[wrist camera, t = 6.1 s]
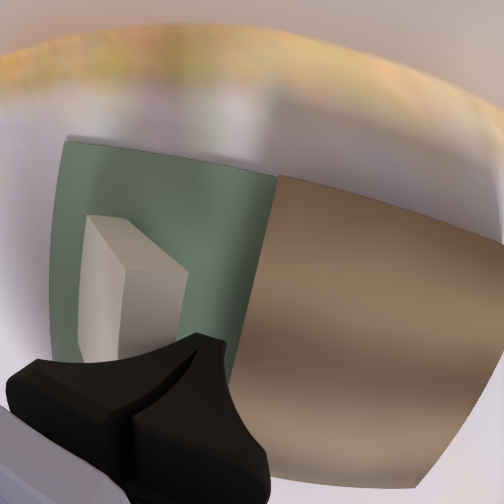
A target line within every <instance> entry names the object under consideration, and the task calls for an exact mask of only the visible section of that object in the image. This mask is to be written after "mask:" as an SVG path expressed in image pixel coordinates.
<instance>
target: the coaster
mask: <svg viewBox="0 0 504 504" xmlns="http://www.w3.org/2000/svg"><path fill="white" fill-rule="evenodd" d="M188 273H189V272H188V271H187V270H186V269H185V268H184V267H182V266H181V265H180V264H179V263H177V262H176V261H175V260H174V259H173V258H171V257H170V256H169V255H168V254H167V253H165V252H164V251H163V250H162V249H161V248H159V247H158V246H157V245H156V244H155V243H154V242H152V241H151V240H150V239H149V238H148V237H147V236H145V235H144V234H143V233H142V232H141V231H140V230H138V229H137V228H136V227H135V226H134V225H133V224H131V223H130V222H129V221H128V220H127V219H126V218H117V217H108V216H98V215H88V214H87V219H86V226H85V233H84V242H83V251H82V261H81V272H80V286H79V305H78V345H79V348H80V351H81V354H82V357H83V360H84V363H95V362H105V361H114V360H121V359H126V358H130V357H135V356H139V355H142V354H145V353H148V352H151V351H154V350H157V349H159V348H162V347H165V346H167V345H169V344H172V343H174V342H176V336H177V330H178V325H179V319H180V314H181V309H182V303H183V298H184V293H185V288H186V283H187V278H188Z"/></svg>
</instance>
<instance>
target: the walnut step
mask: <svg viewBox="0 0 504 504" xmlns="http://www.w3.org/2000/svg"><path fill="white" fill-rule="evenodd" d="M503 351H504V245H503V244H500V243H498V242H495V241H493V240H490V239H488V238H485V237H483V236H480V235H478V234H475V233H472V232H470V231H467V230H464V229H462V228H459V227H456V226H453V225H451V224H448V223H445V222H442V221H439V220H436V219H433V218H430V217H428V216H425V215H422V214H419V213H416V212H412V211H409V210H406V209H403V208H400V207H397V206H394V205H390V204H387V203H384V202H381V201H377V200H374V199H371V198H367V197H364V196H360V195H357V194H353V193H350V192H346V191H343V190H339V189H335V188H332V187H328V186H324V185H320V184H316V183H312V182H308V181H305V180H300V179H296V178H292V177H288V176H284V175H280V174H279V178H278V182H277V186H276V191H275V195H274V199H273V203H272V208H271V212H270V216H269V220H268V225H267V229H266V233H265V237H264V241H263V246H262V250H261V254H260V258H259V262H258V267H257V271H256V275H255V279H254V283H253V287H252V292H251V296H250V300H249V304H248V308H247V312H246V316H245V320H244V324H243V329H242V333H241V337H240V341H239V345H238V349H237V353H236V357H235V361H234V365H233V369H232V373H231V377H230V381H229V385H228V388H229V391H230V394H231V397H232V400H233V403H234V405H235V407H236V410H237V412H238V413H239V415H240V417H241V419H242V421H243V423H244V424H245V426H246V428H247V429H248V430H249V432H250V433H251V435H252V436H253V437H254V438H255V440H256V441H257V442H258V443H259V444H260V445H261V446H262V447H263V449H264V450H265V451H266V454H267V459H268V464H269V470H270V477H276V478H281V479H287V480H293V481H299V482H306V483H314V484H322V485H331V486H342V487H356V488H381V489H404V488H415V487H416V486H417V485H418V484H419V483H420V481H421V480H422V479H423V478H424V477H425V475H426V474H427V473H428V472H429V471H430V469H431V468H432V467H433V466H434V464H435V463H436V462H437V460H438V459H439V458H440V456H441V455H442V454H443V452H444V451H445V450H446V448H447V447H448V446H449V444H450V443H451V441H452V440H453V439H454V437H455V436H456V434H457V433H458V431H459V430H460V428H461V427H462V425H463V424H464V422H465V421H466V419H467V417H468V416H469V414H470V413H471V411H472V409H473V408H474V406H475V404H476V403H477V401H478V399H479V397H480V396H481V394H482V392H483V390H484V389H485V387H486V385H487V383H488V381H489V379H490V377H491V376H492V374H493V372H494V370H495V368H496V366H497V364H498V362H499V360H500V357H501V355H502V353H503Z"/></svg>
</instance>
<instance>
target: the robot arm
mask: <svg viewBox="0 0 504 504" xmlns="http://www.w3.org/2000/svg"><path fill="white" fill-rule="evenodd" d="M226 348H227V343H226V341H224V340H221V339H217V338H214V337H211V336H207V335H204V334H201V333H197V332H195V333H193V334H191V335H189V336H187V337H185V338H183V339H181V340H178V341H176V342H174V343H172V344H169V345H167V346H165V347H162V348H159V349H157V350H154V351H151V352H148V353H145V354H142V355H139V356H135V357H130V358H126V359H121V360H114V361H105V362H95V363H69V362H58V361H49V360H42V359H36V360H34V361H33V362H32V363H30V364H29V365H27V366H26V367H24V368H23V369H21V370H20V371H18V372H17V373H15V374H14V375H13V376H11V377H10V378H9V379H8V381H7V382H6V397H7V402H8V405H9V409H10V412H9V411H8V410H7V409H6V408H4V407H3V406H1V405H0V504H267V502H268V500H269V497H270V493H271V478H270V470H269V464H268V459H267V454H266V451H265V450H264V449H263V447H262V446H261V445H260V444H259V443H258V442H257V441H256V440H255V438H254V437H253V436H252V435H251V433H250V432H249V430H248V429H247V428H246V426H245V424H244V423H243V421H242V419H241V417H240V415H239V413H238V412H237V410H236V407H235V405H234V403H233V400H232V397H231V394H230V391H229V388H228V384H227V379H226V374H225V364H224V356H225V352H226Z"/></svg>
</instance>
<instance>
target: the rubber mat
mask: <svg viewBox="0 0 504 504" xmlns="http://www.w3.org/2000/svg"><path fill="white" fill-rule="evenodd" d="M278 178H279V177H274V176H270V175H266V174H261V173H257V172H252V171H247V170H243V169H238V168H233V167H228V166H223V165H218V164H213V163H208V162H203V161H197V160H192V159H186V158H181V157H175V156H169V155H163V154H157V153H150V152H144V151H137V150H130V149H123V148H115V147H108V146H99V145H91V144H82V143H72V142H64V147H63V152H62V157H61V163H60V169H59V175H58V181H57V188H56V195H55V203H54V212H53V222H52V233H51V248H50V274H49V305H50V330H51V345H52V356H53V361H58V362H69V363H84V360H83V357H82V354H81V351H80V348H79V345H78V305H79V286H80V272H81V261H82V251H83V242H84V233H85V226H86V219H87V214H88V215H98V216H108V217H117V218H126V219H127V220H128V221H129V222H130V223H131V224H133V225H134V226H135V227H136V228H137V229H138V230H140V231H141V232H142V233H143V234H144V235H145V236H147V237H148V238H149V239H150V240H151V241H152V242H154V243H155V244H156V245H157V246H158V247H159V248H161V249H162V250H163V251H164V252H165V253H167V254H168V255H169V256H170V257H171V258H173V259H174V260H175V261H176V262H177V263H179V264H180V265H181V266H182V267H184V268H185V269H186V270H187V271H188V272H189V273H188V278H187V283H186V288H185V293H184V298H183V303H182V309H181V314H180V319H179V325H178V330H177V336H176V341H178V340H181V339H183V338H185V337H187V336H189V335H191V334H193V333H195V332H197V333H201V334H204V335H207V336H211V337H214V338H217V339H221V340H224V341H226V343H227V348H226V352H225V356H224V364H225V374H226V379H227V384H228V385H229V381H230V377H231V373H232V369H233V365H234V361H235V357H236V353H237V349H238V345H239V341H240V337H241V333H242V329H243V324H244V320H245V316H246V312H247V308H248V304H249V300H250V296H251V292H252V287H253V283H254V279H255V275H256V271H257V267H258V262H259V258H260V254H261V250H262V246H263V241H264V237H265V233H266V229H267V225H268V220H269V216H270V212H271V208H272V203H273V199H274V195H275V191H276V186H277V182H278Z"/></svg>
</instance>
